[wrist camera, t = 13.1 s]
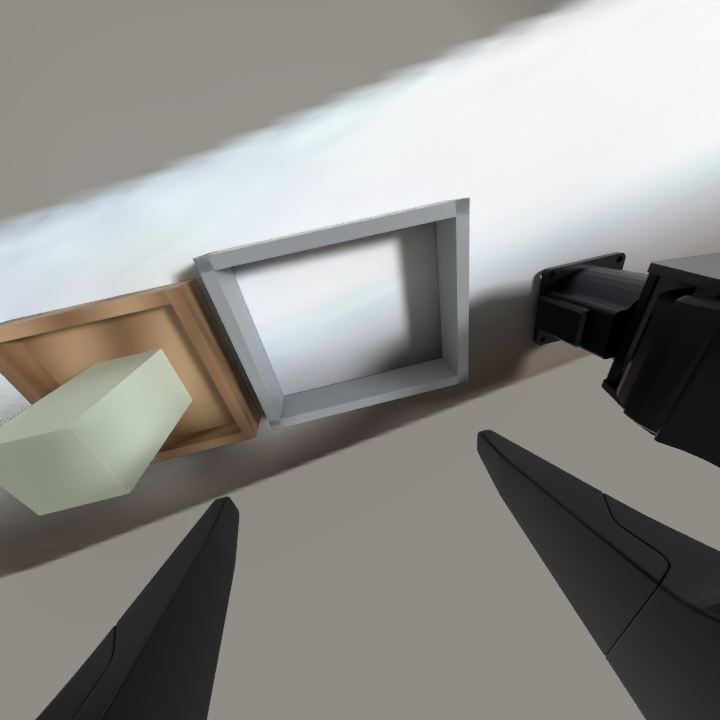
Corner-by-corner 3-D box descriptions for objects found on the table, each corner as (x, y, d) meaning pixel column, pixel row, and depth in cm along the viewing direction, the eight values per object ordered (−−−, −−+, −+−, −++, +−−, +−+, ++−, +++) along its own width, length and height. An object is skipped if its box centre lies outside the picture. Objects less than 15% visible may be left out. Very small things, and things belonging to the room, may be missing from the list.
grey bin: (446, 200, 18) (469, 197, 15) (451, 363, 24) (468, 381, 21) (211, 252, 17) (192, 258, 15) (277, 406, 23) (272, 429, 21)
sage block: (161, 348, 19) (67, 427, 12) (192, 400, 21) (130, 493, 14) (94, 363, 18) (-42, 453, 11) (133, 414, 20) (39, 515, 14)
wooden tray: (194, 278, 18) (177, 287, 16) (261, 417, 24) (255, 437, 21) (7, 320, 17) (-37, 335, 15) (122, 451, 23) (102, 475, 21)
